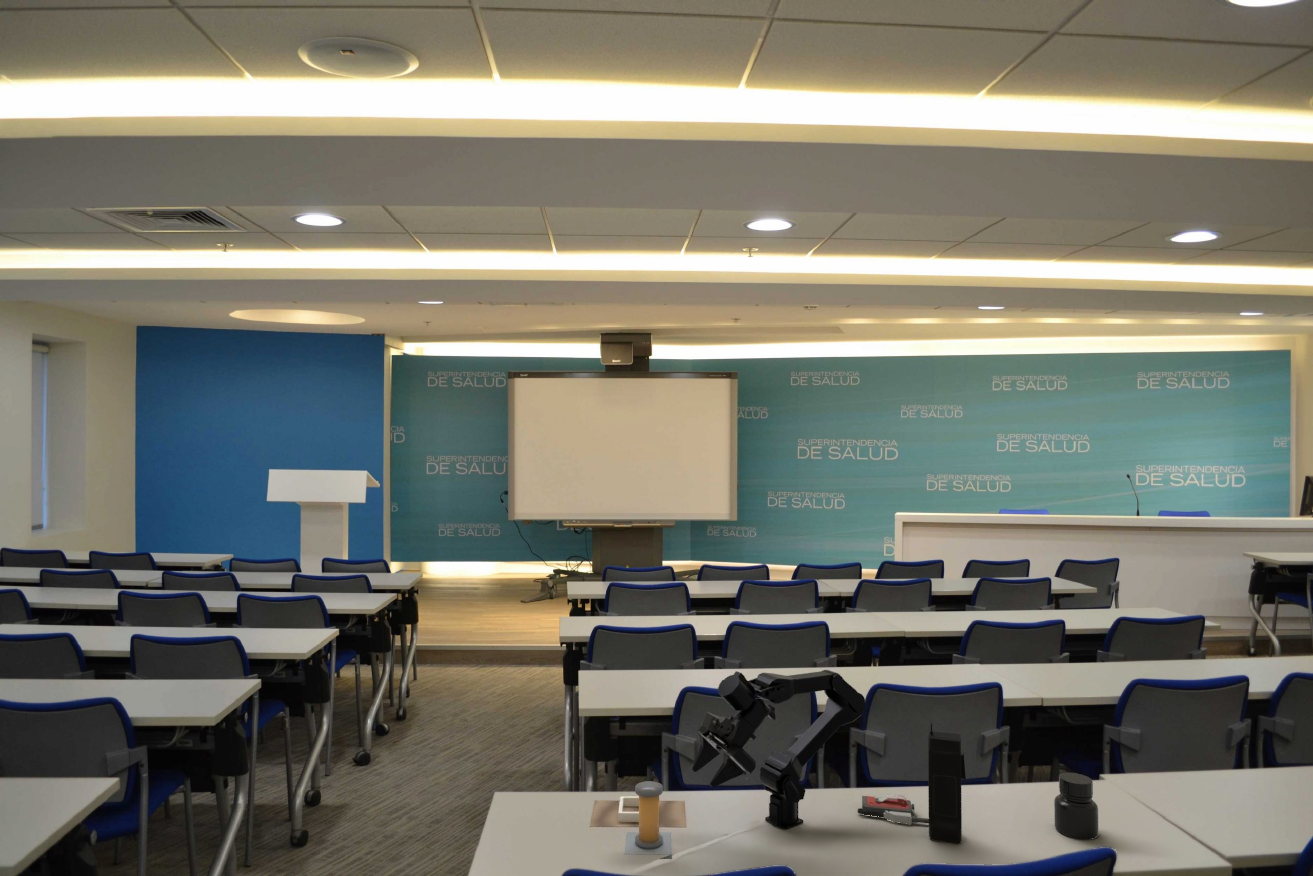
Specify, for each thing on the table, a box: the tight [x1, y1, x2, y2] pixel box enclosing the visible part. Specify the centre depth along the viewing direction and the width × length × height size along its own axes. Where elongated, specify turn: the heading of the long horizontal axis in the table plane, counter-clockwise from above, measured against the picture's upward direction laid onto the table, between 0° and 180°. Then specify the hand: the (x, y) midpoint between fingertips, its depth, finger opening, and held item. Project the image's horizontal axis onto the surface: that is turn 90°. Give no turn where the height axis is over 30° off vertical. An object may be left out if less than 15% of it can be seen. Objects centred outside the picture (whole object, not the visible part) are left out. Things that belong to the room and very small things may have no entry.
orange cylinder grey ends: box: [634, 780, 664, 849], centre depth 174 cm, size 6×6×12 cm
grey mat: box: [624, 831, 673, 860], centre depth 173 cm, size 10×10×1 cm
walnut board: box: [589, 799, 687, 828], centre depth 188 cm, size 22×14×1 cm, turn 90°
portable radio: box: [927, 723, 967, 845], centre depth 179 cm, size 8×6×25 cm
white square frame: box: [618, 795, 639, 822], centre depth 188 cm, size 9×9×2 cm
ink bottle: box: [1053, 772, 1099, 840], centre depth 182 cm, size 10×9×12 cm
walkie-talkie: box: [857, 794, 929, 825], centre depth 189 cm, size 9×4×20 cm
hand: (702, 778), depth 177 cm, fingers open, 9 cm apart
